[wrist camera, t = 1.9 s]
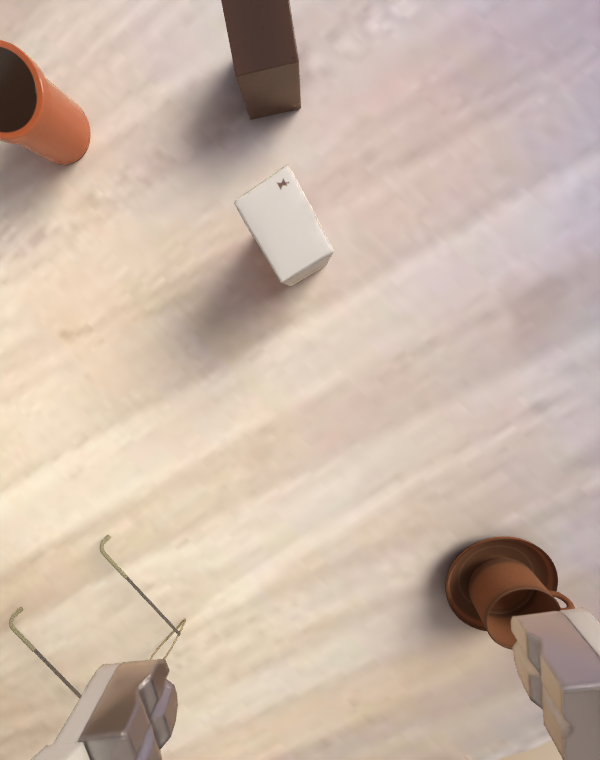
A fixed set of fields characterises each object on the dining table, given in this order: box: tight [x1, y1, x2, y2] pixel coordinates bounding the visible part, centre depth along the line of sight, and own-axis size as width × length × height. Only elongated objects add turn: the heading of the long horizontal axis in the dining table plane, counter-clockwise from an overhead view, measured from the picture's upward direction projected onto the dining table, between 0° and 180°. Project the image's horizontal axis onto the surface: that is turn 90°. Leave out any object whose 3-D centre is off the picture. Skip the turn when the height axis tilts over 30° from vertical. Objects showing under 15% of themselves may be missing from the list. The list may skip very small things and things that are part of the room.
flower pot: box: [0, 40, 90, 165], centre depth 30 cm, size 6×6×7 cm
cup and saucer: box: [446, 537, 575, 650], centre depth 39 cm, size 12×12×6 cm
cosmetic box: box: [234, 165, 334, 286], centre depth 29 cm, size 6×4×12 cm
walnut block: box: [221, 0, 301, 119], centre depth 29 cm, size 5×5×6 cm
